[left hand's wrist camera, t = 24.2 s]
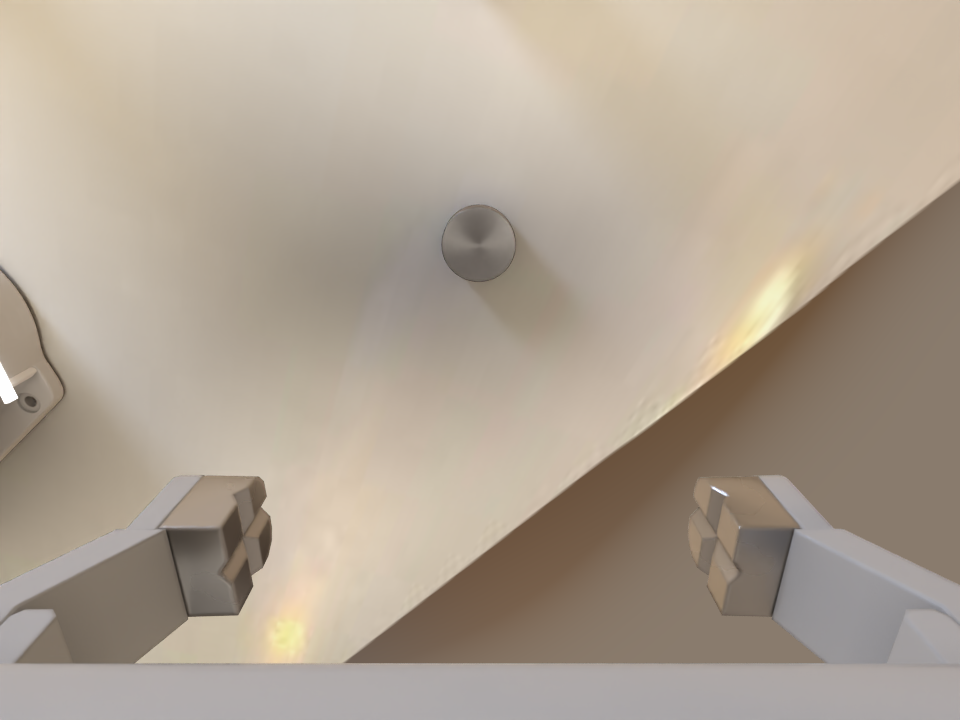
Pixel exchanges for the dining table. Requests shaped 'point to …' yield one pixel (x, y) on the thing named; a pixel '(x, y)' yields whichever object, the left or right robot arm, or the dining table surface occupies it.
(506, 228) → the lid
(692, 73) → the dining table surface
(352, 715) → the left robot arm
